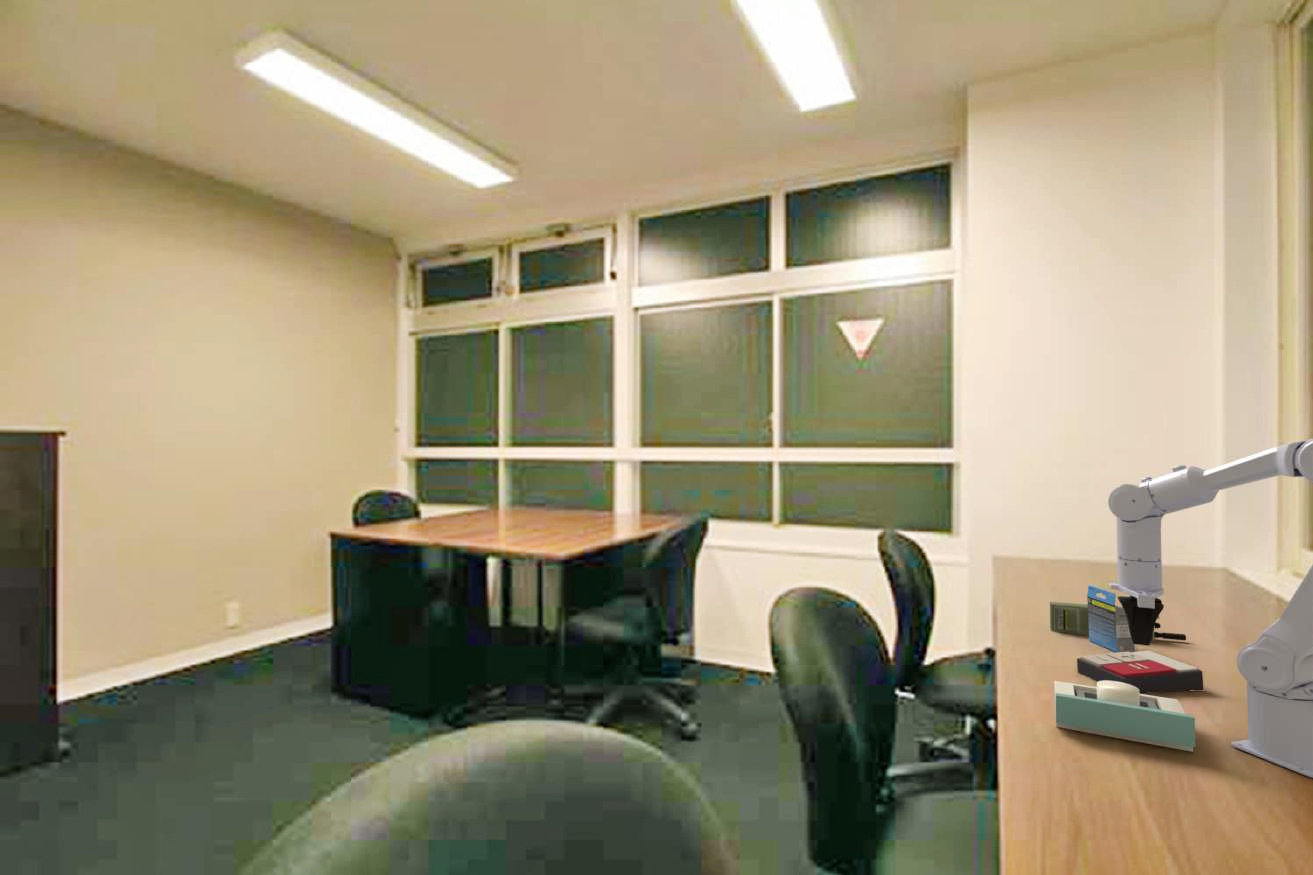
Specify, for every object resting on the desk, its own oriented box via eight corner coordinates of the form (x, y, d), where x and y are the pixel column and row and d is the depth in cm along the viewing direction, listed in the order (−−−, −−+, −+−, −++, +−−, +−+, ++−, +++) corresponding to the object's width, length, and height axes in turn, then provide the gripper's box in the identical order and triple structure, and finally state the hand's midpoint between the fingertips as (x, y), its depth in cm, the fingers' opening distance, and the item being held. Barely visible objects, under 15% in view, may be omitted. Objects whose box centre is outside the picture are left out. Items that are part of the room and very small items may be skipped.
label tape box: (1135, 653, 130) (1134, 593, 130) (1115, 653, 130) (1114, 593, 130) (1105, 640, 139) (1104, 584, 139) (1086, 640, 139) (1085, 584, 139)
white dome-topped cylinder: (1149, 718, 94) (1148, 691, 94) (1120, 722, 93) (1120, 694, 93) (1116, 705, 99) (1115, 679, 99) (1088, 708, 98) (1088, 682, 98)
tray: (1054, 697, 104) (1054, 672, 104) (1179, 718, 96) (1178, 690, 96) (1056, 723, 95) (1055, 695, 95) (1195, 748, 87) (1194, 717, 87)
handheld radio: (1049, 628, 149) (1182, 640, 139) (1052, 633, 146) (1188, 645, 136) (1049, 600, 149) (1182, 610, 139) (1051, 604, 146) (1188, 614, 136)
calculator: (1075, 654, 120) (1148, 647, 121) (1076, 677, 120) (1150, 669, 121) (1123, 674, 109) (1203, 666, 110) (1125, 699, 109) (1205, 691, 110)
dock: (1054, 701, 105) (1054, 680, 106) (1178, 722, 97) (1177, 699, 97) (1056, 726, 96) (1055, 703, 96) (1193, 751, 88) (1192, 726, 88)
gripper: (1104, 550, 111) (1106, 629, 111) (1113, 563, 99) (1115, 652, 98) (1155, 554, 108) (1157, 635, 107) (1171, 567, 95) (1173, 659, 95)
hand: (1140, 643), depth 103 cm, fingers closed
